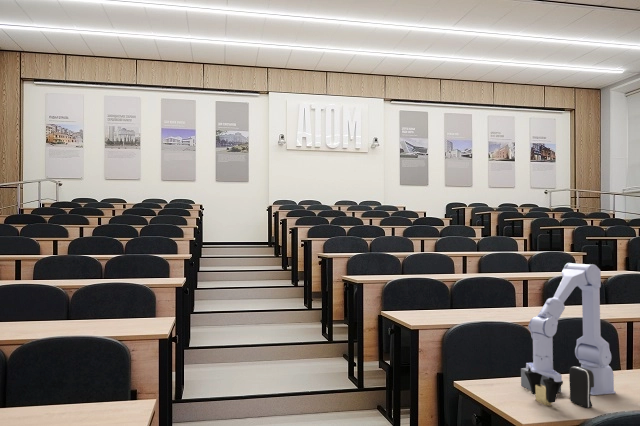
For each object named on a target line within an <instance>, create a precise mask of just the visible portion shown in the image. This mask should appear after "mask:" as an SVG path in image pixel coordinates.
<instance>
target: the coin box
mask: <svg viewBox="0 0 640 426" xmlns="http://www.w3.org/2000/svg"><path fill="white" fill-rule="evenodd" d="M525 371H528V369H526V367H523V368H520V385H521V386H522V387H523V388H525V389H527V390H529V391H531V387H530V384H529V381H528V378H527V376H526V375H525ZM557 373H558V374H560V375H562V374H561V373H559V372H557ZM543 379H549V378H548V377H546V376H544V375H542V377H541V381H540V384H542V385H544V386H545V384H544V381H543ZM558 393H562V386H561V387H560V389H559V391H558Z"/></svg>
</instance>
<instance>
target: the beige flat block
mask: <svg viewBox="0 0 640 426" xmlns="http://www.w3.org/2000/svg"><path fill="white" fill-rule="evenodd" d="M535 387H536V394H535V401H536V402H538V403H540V404H542V405H544V406H548V407H549V406H552V404H553V403H549V402H548V400H547V391H546V387H545V386H544V385H542V384H537V385H535Z"/></svg>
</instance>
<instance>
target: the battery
mask: <svg viewBox="0 0 640 426" xmlns="http://www.w3.org/2000/svg"><path fill="white" fill-rule="evenodd" d="M568 372H569V373H568V374H569V375H568V376H569V378H568V379H569V382H568V383H569V401H570V402H572V403H574V404H577V405H578V406H581V407H582V408H583V407H584V408H592V407H593V403H592V399H591V394H590V392H591V387H594V375H593V373H592V371H591V370H589V369H586V368H583V367H581V366H571V367H570V368H569V371H568Z"/></svg>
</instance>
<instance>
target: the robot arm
mask: <svg viewBox="0 0 640 426" xmlns="http://www.w3.org/2000/svg"><path fill="white" fill-rule="evenodd" d="M563 266H564V267H563V268H562V271H561V276H562V279H561V281H560V282H559V285H558V287H557V289H556V291H555V293H554V294H553V297H549V298H547V299H546V301H545V303H544V305H543V306H542V308H541V309H540V310H539V312H538V314H537V315H536V316H534V317H532V318H531V319H530V321H529V324H528V325H527V326H528V330H529V332H530V336H531V339H532V360H533V361H532V362H526V363H525V368H526V369H528V371H525V375H526V376H527V378H528V381H529V384H530V387H531V390H530V391H531V393H532V395H536V387H535V385H537V384H540V381H541V377H542V375H544V376H546V377H548V378H549V379H543V381H544V384H545V387H546V391H547V400H548V402H549V403H552V404H553V403H556V399H557V396H558V393H559V392H558V391H559V389H560V387H561V388H562V386H563V384H564V380H562V374H561V373H559V372H557V371H556V370H554V361H553V360H554V355H553V353H554V351H553V350H554V348H553V346H554V343H553V341H554V339H553V337H554V336H555V335H556V333H557V330H558V324H559V319H560V318H561V315H562V314H563V313H564V311H565V308H566V307H565V302H566V301H567V299H568V297H569V296H570V295H571V294H572V292H573V291H574V289H576V287H578V288H579V290H581V297H582V298H581V299H582V300H581V303H582V304H581V306H582V309H581V310H582V336H580V337H579V338H577V339H576V345H575V348H574V355H575V357H576V359H577V361H578V363H579V364H580V367H583V368H586V369H589V370H591V371H592V373H593V375H594V387H591V392H590V396H599V395H611V394H612V395H613V394H617V393H616V391H615V390H614V389H615V384H614V383H615V382H614V381H615V378H614V377H615V374H614V371H613V369H612V367H611V366H610V365H609V364H611V361H612V353H611V351H610V343H609V342H608V341H606V340H605V339H604V338H603V337H602V335H601V333H602V332H601V306H600V305H601V301H600V294H601V293H600V288H601V287H602V283H601V282H602V281H601V280H602V277H601V269H600V268H599V267H598V266H597V265H596V264H593V263H592V264H591V263H589V264H585V263H576V262H575V263H572V262H567V263H566V264H565V265H563ZM558 373H559V374H558ZM560 374H561V375H560Z"/></svg>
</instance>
